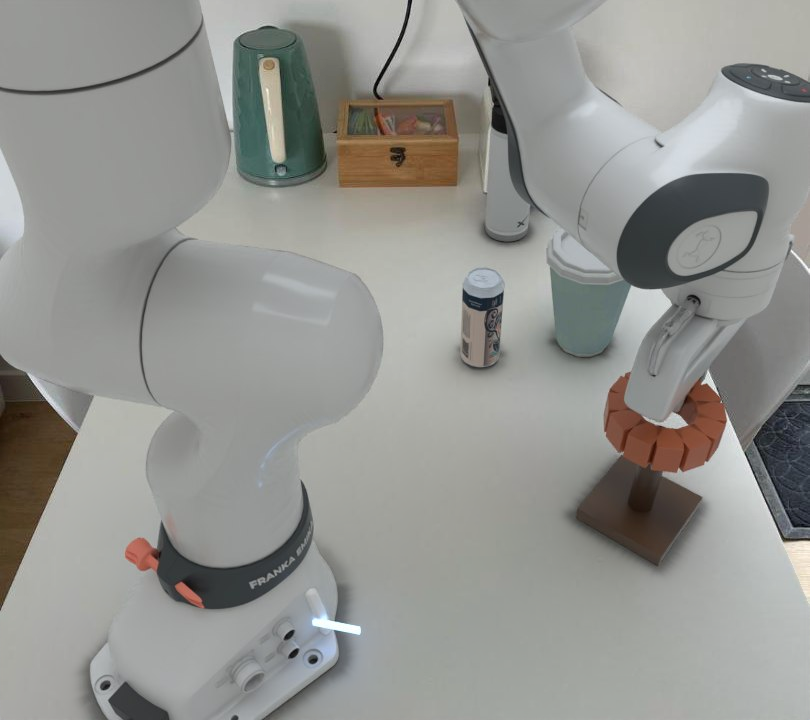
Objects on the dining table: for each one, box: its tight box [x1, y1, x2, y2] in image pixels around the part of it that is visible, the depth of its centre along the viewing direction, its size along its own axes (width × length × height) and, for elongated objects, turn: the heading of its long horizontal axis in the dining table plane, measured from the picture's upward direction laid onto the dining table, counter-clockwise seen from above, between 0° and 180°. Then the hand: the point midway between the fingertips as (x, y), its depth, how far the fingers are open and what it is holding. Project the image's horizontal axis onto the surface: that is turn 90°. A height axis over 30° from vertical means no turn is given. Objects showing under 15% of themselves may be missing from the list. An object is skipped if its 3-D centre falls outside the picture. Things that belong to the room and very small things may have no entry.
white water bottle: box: [484, 99, 531, 243], centre depth 112 cm, size 6×7×20 cm
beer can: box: [459, 266, 506, 368], centre depth 95 cm, size 5×5×12 cm
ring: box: [603, 371, 728, 474], centre depth 72 cm, size 10×10×3 cm
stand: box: [575, 424, 703, 567], centre depth 77 cm, size 9×9×12 cm
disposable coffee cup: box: [545, 226, 632, 358], centre depth 96 cm, size 11×11×15 cm
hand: (682, 393), depth 74 cm, fingers closed on ring, 2 cm apart
